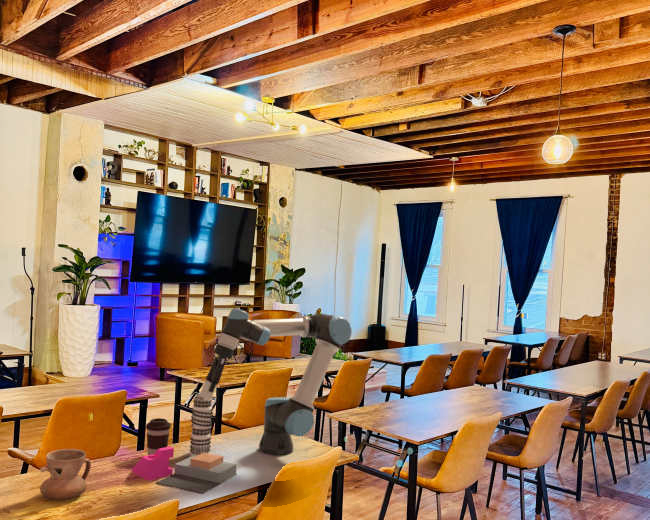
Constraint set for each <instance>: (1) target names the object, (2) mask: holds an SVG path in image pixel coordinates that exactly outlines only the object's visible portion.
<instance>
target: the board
mask: <svg viewBox="0 0 650 520" xmlns="http://www.w3.org/2000/svg"><path fill="white" fill-rule="evenodd" d="M193 457H195V456H191V455H190V457H187V458H185V459H183V460H181V461H178V462H176V463H175V464H174V472H173V474H179V475H183V476H188V477H193V478H198V479H202V480H207V481H212V482H217V483H221V482H222V481H224V480H226V479H227V480H226V481H228V480H229V479H231V478H233V477H235V476H236V475H237V466H238V465H237V463H233V462H228V461H223V463H221V464H219V465H217V466H216V467H214V468H212V469H207V468H202V467H197V466H192V465H190V459H191V458H193ZM224 482H225V481H224ZM221 484H222V483H221Z"/></svg>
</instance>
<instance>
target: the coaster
mask: <svg viewBox="0 0 650 520" xmlns="http://www.w3.org/2000/svg"><path fill="white" fill-rule="evenodd" d="M223 462H224V455H218V454H213V453H210V454H209V453H202V454H200V455H198V456H195V457H193V458H191V459H190V465H192V466H197V467H202V468H207V469H212V468H214V467H216V466H217V465H219V464H221V463H223Z"/></svg>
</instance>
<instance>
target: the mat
mask: <svg viewBox="0 0 650 520" xmlns="http://www.w3.org/2000/svg"><path fill="white" fill-rule="evenodd" d="M226 481H228V480H227V479H226V480H224V481H222V482H221V483H217V482H212V481H207V480H202V479H198V478H193V477H188V476H183V475H179V474H174V473H172V475H170V476H166V477H163V478H162V479H161V480H159V481H156V483H155V484H157V485H161V486H165V487H171V488H174V487H175V488H174V489H178V488H180V489H179V490H183V489H184V491H187V490H188V492H192V491H193V492H192V493H196V492H197V493H196V494H201V493H202V494H201V495H203V494H205V493H207V492H208V490H209V491H211V490H212V489H214V488H216V487H218V486H219V485H221V484H222V483H224V482H226Z"/></svg>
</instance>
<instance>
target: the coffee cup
mask: <svg viewBox="0 0 650 520" xmlns="http://www.w3.org/2000/svg"><path fill="white" fill-rule="evenodd" d="M171 428H172V423H170V422H169V421H168V419H166V418H160V417H159V418H152V419H150V421H149V422H147V423H146V424H145V429H146V430H147V431H146V447H147V455H152V454H155V452H156V451H157V450H158V449H160V448H165V447H169V445H168V444H169V438H170V437H169V436H170V429H171Z"/></svg>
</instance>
